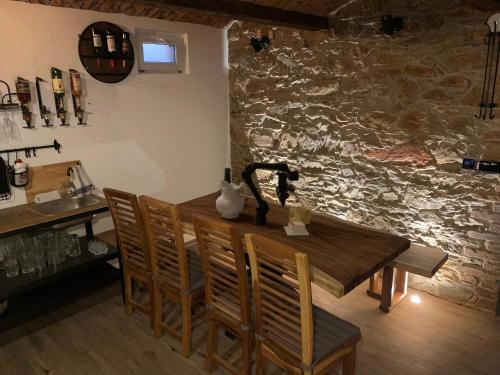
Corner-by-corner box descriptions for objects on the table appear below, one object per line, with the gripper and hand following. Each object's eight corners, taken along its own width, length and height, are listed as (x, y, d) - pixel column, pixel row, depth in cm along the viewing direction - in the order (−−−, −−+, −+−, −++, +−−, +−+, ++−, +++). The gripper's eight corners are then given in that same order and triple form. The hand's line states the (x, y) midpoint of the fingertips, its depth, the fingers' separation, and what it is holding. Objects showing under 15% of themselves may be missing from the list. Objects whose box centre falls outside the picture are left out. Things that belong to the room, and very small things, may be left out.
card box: (301, 228, 247) (301, 221, 246) (304, 231, 242) (304, 224, 241) (288, 229, 245) (288, 222, 244) (291, 232, 240) (291, 225, 238)
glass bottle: (217, 209, 284) (217, 171, 276) (213, 202, 300) (213, 166, 293) (241, 207, 288) (242, 170, 281) (236, 200, 305) (236, 165, 298)
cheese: (300, 226, 251) (300, 212, 249) (288, 222, 259) (288, 207, 257) (311, 223, 258) (311, 208, 255) (299, 219, 266) (299, 204, 263)
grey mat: (287, 235, 236) (287, 234, 236) (283, 227, 249) (283, 226, 249) (309, 235, 237) (309, 234, 237) (303, 226, 251) (303, 226, 251)
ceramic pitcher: (248, 214, 277) (249, 179, 273) (245, 221, 258) (246, 184, 254) (218, 212, 279) (218, 178, 275) (213, 220, 260) (213, 183, 256)
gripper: (297, 185, 244) (296, 208, 248) (291, 177, 262) (291, 200, 266) (280, 185, 243) (279, 209, 247) (275, 178, 261) (274, 200, 265)
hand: (281, 204), depth 256 cm, fingers open, 9 cm apart
